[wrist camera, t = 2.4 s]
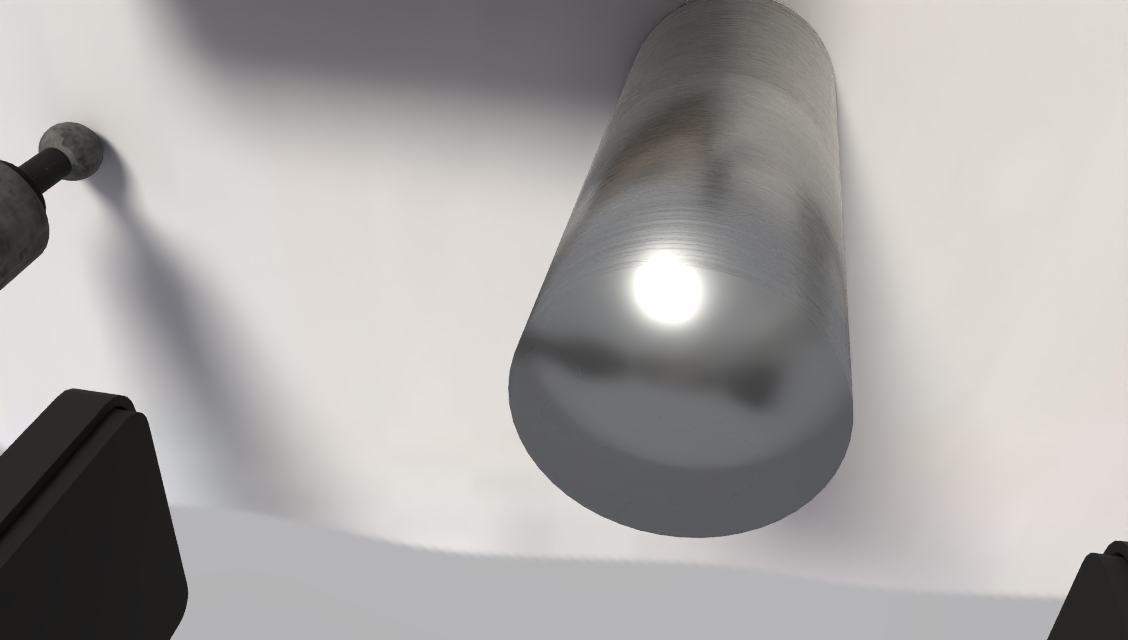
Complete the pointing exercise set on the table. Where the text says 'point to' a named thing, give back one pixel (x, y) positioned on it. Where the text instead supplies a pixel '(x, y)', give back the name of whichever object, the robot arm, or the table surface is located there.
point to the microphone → (40, 192)
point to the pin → (700, 288)
